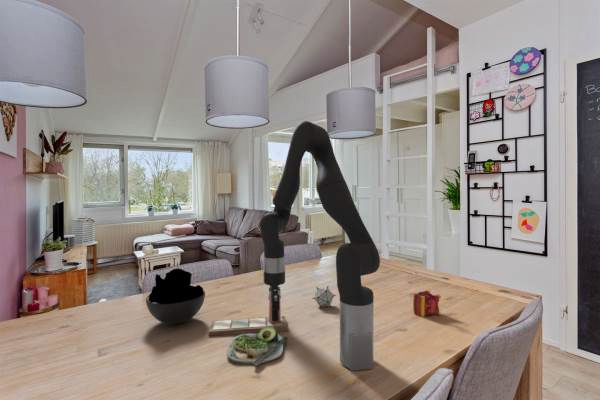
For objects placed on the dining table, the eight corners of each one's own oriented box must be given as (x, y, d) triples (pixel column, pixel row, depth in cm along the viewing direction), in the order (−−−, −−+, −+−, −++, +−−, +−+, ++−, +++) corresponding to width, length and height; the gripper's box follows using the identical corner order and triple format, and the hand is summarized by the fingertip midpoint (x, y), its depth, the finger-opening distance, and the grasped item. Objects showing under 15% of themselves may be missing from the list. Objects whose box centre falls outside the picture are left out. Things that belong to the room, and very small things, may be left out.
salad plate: (285, 371, 87) (285, 354, 87) (218, 371, 88) (218, 354, 87) (289, 338, 107) (288, 324, 107) (234, 338, 107) (233, 324, 107)
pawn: (281, 323, 113) (281, 292, 113) (268, 324, 113) (268, 293, 112) (280, 318, 118) (280, 288, 117) (268, 319, 117) (267, 289, 117)
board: (287, 330, 111) (287, 325, 111) (208, 336, 108) (208, 331, 108) (285, 320, 120) (285, 315, 120) (212, 324, 117) (212, 320, 117)
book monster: (429, 308, 131) (450, 322, 119) (409, 311, 129) (428, 325, 117) (430, 282, 130) (451, 293, 118) (409, 284, 128) (428, 296, 116)
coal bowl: (203, 308, 132) (202, 262, 132) (208, 328, 114) (207, 274, 113) (148, 316, 125) (147, 267, 124) (144, 338, 107) (142, 281, 106)
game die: (327, 316, 133) (333, 302, 127) (308, 308, 134) (313, 293, 128) (333, 300, 140) (339, 285, 134) (315, 292, 141) (320, 277, 135)
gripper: (287, 274, 108) (287, 325, 109) (283, 264, 122) (283, 310, 123) (264, 275, 107) (264, 327, 108) (262, 265, 121) (263, 311, 122)
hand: (274, 317), depth 115 cm, fingers closed on pawn, 4 cm apart
